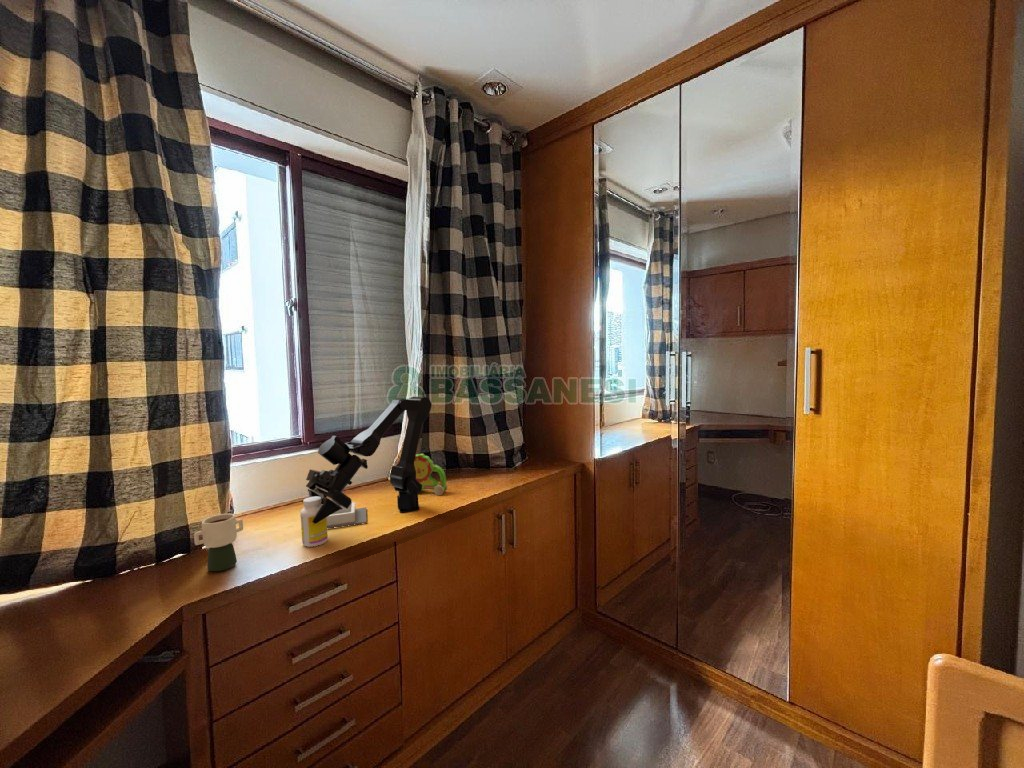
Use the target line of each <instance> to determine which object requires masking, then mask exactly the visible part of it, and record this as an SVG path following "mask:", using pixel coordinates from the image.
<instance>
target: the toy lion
mask: <svg viewBox="0 0 1024 768" xmlns="http://www.w3.org/2000/svg"><path fill="white" fill-rule="evenodd" d="M414 466H415V470H416V480H417V481H418V482H419V483H420V484H421V485H422V490H421V492H422V491H425V490H431V491H433V493H434V494H435V496H441V495H443V494H444V493H445V492H446V491H447V490H448V484H447V477H446V476H447V475H446V473H445V471H444V469H443V467H441V466H440V465H438V464H434V461H433V460H432V459H431V458H430V456H428V455H425V454H424V453H420V454H419V453H416V456H415V461H414ZM433 472H436V473H437V474H438V475H439V479H440V482H438V481H437V479H435V478H433V477H432V473H433Z"/></svg>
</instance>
